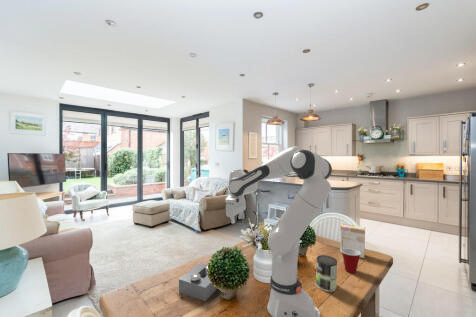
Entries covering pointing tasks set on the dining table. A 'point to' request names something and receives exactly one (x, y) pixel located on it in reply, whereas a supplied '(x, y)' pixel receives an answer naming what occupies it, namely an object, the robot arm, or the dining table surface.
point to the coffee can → (326, 273)
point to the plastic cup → (350, 259)
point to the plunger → (195, 277)
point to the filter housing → (197, 284)
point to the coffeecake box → (353, 238)
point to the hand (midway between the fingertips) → (236, 221)
